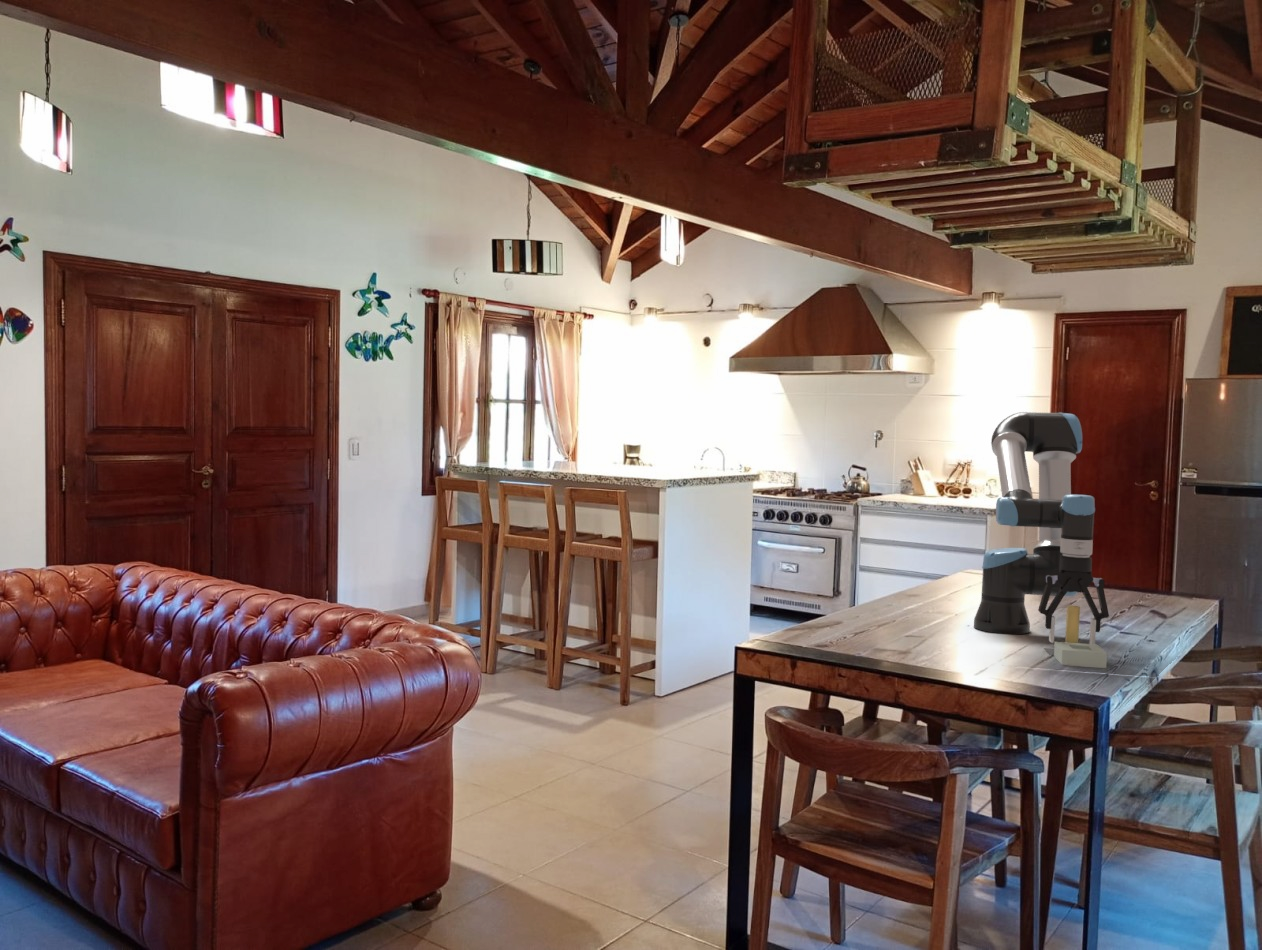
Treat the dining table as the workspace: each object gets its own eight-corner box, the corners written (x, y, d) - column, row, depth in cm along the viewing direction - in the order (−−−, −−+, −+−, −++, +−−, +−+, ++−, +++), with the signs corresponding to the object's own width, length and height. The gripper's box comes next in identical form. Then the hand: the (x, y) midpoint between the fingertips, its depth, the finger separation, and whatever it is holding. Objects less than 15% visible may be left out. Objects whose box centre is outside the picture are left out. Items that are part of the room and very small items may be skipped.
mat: (1048, 656, 255) (1049, 654, 255) (1043, 649, 263) (1043, 647, 263) (1100, 659, 252) (1100, 658, 252) (1092, 653, 260) (1092, 651, 260)
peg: (1066, 653, 256) (1068, 607, 256) (1063, 651, 259) (1066, 605, 259) (1078, 654, 256) (1081, 607, 255) (1076, 652, 258) (1078, 605, 258)
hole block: (1061, 666, 244) (1062, 649, 244) (1053, 657, 254) (1054, 641, 253) (1106, 669, 242) (1107, 653, 241) (1096, 660, 251) (1097, 644, 251)
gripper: (1033, 554, 255) (1028, 642, 256) (1126, 559, 250) (1121, 649, 251) (1028, 551, 262) (1024, 637, 263) (1118, 555, 257) (1114, 643, 258)
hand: (1071, 642), depth 257 cm, fingers open, 9 cm apart
